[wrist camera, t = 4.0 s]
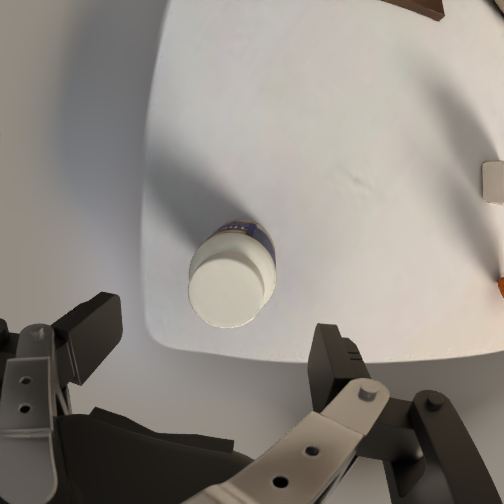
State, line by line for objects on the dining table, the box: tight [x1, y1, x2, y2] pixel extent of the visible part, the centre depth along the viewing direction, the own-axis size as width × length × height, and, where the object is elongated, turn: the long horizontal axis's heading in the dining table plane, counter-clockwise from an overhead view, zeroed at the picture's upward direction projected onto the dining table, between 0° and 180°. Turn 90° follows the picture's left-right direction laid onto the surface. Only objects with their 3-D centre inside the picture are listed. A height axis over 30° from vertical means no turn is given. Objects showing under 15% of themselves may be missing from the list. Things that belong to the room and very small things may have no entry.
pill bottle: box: [188, 220, 276, 329], centre depth 20 cm, size 5×5×10 cm
